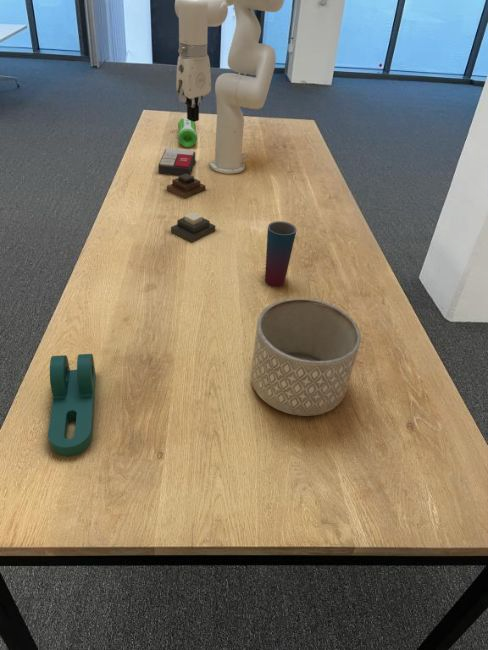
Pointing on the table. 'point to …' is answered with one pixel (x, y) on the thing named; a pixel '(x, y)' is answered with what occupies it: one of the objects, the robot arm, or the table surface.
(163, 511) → the table surface
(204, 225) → the block
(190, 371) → the table surface
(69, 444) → the bracket
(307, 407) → the planter
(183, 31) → the robot arm
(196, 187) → the walnut key block
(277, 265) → the cup
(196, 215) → the ivory key
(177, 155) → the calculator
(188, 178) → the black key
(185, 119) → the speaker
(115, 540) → the table surface
